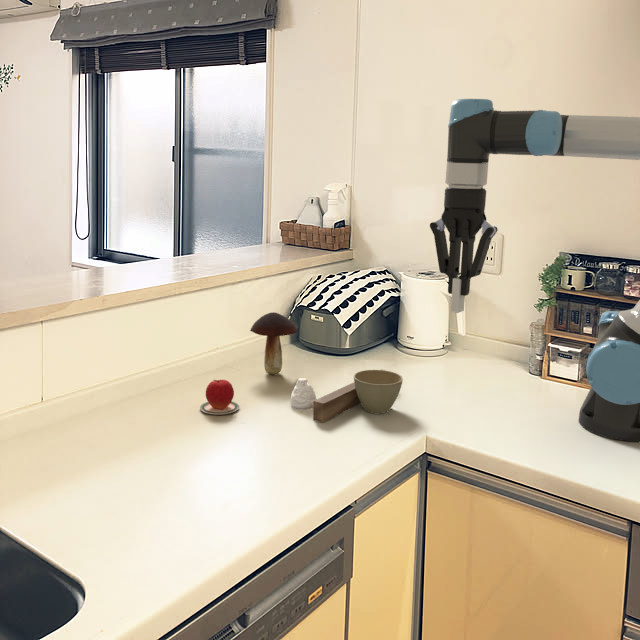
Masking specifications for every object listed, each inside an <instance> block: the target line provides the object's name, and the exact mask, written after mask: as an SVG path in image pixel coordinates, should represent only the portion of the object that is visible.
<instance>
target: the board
mask: <svg viewBox="0 0 640 640" xmlns="http://www.w3.org/2000/svg"><path fill="white" fill-rule="evenodd" d="M380 370H383V369H380ZM316 399H317V400H314V403H313V407H312V408H313V411H312V412H313V413H312V414H313V415H312V420H313V421H316V422H319V423H323V424H324V423H326V422H327V421H329V420H331V419H333V418H335V417H337V416H339V415H341V414H343V413H345V412H347V411H349V410H351V409H352V408H355V407H357V406H359V405H360V404H361V402H360V400H359V398H358V395H357V392H356V388H355V383H354V381H353V382H351V383H350V384H347V385H345V386H343V387H341V388H339V389H336V390H334V391H332V392H330V393H328V394H327V393H326V395H324V396H320V397H318V398H316ZM361 405H362V404H361Z"/></svg>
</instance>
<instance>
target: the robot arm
mask: <svg viewBox="0 0 640 640" xmlns="http://www.w3.org/2000/svg"><path fill="white" fill-rule="evenodd" d="M449 113H450V114H449V123H448V125H447V127H448V133H447V134H448V135H447V136H448V138H447V156H446V169H445V170H446V171H445V182H444V183H445V185H448V187H447V186H446V188H445V189H444V199H443V206H444V210H443V213H442V214H441V217H440V219H437V220H436V221H432V222H431V223H429V228H430V230H431V232H432V234H433V237H434V245H435V249H436V250H435V251H436V256H437V263H438V270H439V273H440V274H444V275H447V278H448V282H447V283H448V285H447V293H448V294H450V295H451V299H450V301H451V302H450V313H454V314H455V313H456V314H459V313H462V312H464V311H465V298H466V296H468V295H469V294H470V291H471V290H470V289H471V287H470V286H471V279H472V278H474V277H477V276H480V275H481V273H482V270H483V267H484V265H485V261H486V258H487V255H488V251H489V248H490V245H491V242H492V240H493V238H494V236H495V235H496V234H497V232H499V231H498V230H499V228H498V227H497V226H492V225H491V223H489V222H488V221H487V216H486V213H485V209H486V200H487V190H486V188H484V186H487V184H488V173H489V161H490V159H489V158H490V155H512V156H514V155H516V156H534V157H543V156H550V157H574V158H577V157H578V158H590V159H591V158H592V159H594V158H595V159H609V160H610V159H612V160H615V159H616V160H629V161H630V160H632V161H640V116H624V115H623V116H622V115H621V116H619V115H617V116H616V115H613V116H612V115H580V114H579V115H578V114H577V115H576V114H575V115H574V114H570V115H569V114H567V115H566V114H561V113H560V112H558V111H555V110H543V109H536V110H506V111H505V110H504V111H503V110H496V109H495V110H494V103H493V101H492V100H491V99H488V98H486V99H485V98H460V99H456V100H454V101H453V102H452V103H451V106H450V112H449ZM445 229H446V230H447V231H448V234H449V235H448V241H449V249H448V241H447V235H446V231H445ZM480 230H481V232H480V233H481V234H482V235H481V237H480V239H479V241H478V244H477V248H476V252H475V255H474V247H475V242H476V235H477V234H478V233H479V231H480ZM461 248H462V249H461ZM597 325H598V334H597V340H596V342H595V344H594V346H593V348H592V350H591V351H590V353H589V354H588V357H587V360H586V363H585V366H586V367H585V370H586V378H587V381H588V383H589V385H590V388H589V391H588V393H587V394H586V397H585V399H584V400H583V402H582V404H581V407H580V410H579V414H578V415H579V416H578V423H579V425H580V426H581V427H583V428H584V429H586V430H588V432H591V433H594V434H595V435H598V436H601V437H605V438H608V439H613V440H617V439H618V441H623V442H625V441H626V442H640V299H639V300H638V301H637V303H636V304H635V306H634V307H632V308H631V309H626V310H621V311H619V310H608V311H603V313H601V315H600V319H599V322H598V324H597Z"/></svg>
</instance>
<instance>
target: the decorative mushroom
mask: <svg viewBox="0 0 640 640" xmlns="http://www.w3.org/2000/svg"><path fill="white" fill-rule="evenodd" d="M249 332H252V333H254V334H256V335H258V336H259V335H260V336H264V337H265V336H266V341H265V348H264V359H263V360H264V364H263V365H264V371H265V372H266V373H267V374H268V375H272V376H275V375H278V374H279V373H280V372H281V371H282V368H283V350H282V344H281V337H283V336H284V337H285V336H289V335H294V334H296V333H297V332H298V329H297V327H296V325H295V323H294V322H293V321H292V320H291V319H289V318H288V317H286V316H285V315H282V314H280V313H279V312H275V311H274V312H268V313H266V314H263V315H262V316H260V318H258V319H256V321H255V322H254V323H253V325H252V326H251V328H250V330H249Z"/></svg>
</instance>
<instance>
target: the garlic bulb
mask: <svg viewBox="0 0 640 640" xmlns="http://www.w3.org/2000/svg"><path fill="white" fill-rule="evenodd" d="M317 399H318V398H317V394H316V392H315V390H314V388H313V387H312V385H311V384H310V383H308V379H307V378H302V377H301V378H298V379H297V381H296V383H295V385H294V388H293V389H292V392H291V396H290V401H289V402H290V405H291V406H292V407H293V408H294V409H298V410H307V409H311V408H313V403H314V400H317Z"/></svg>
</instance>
